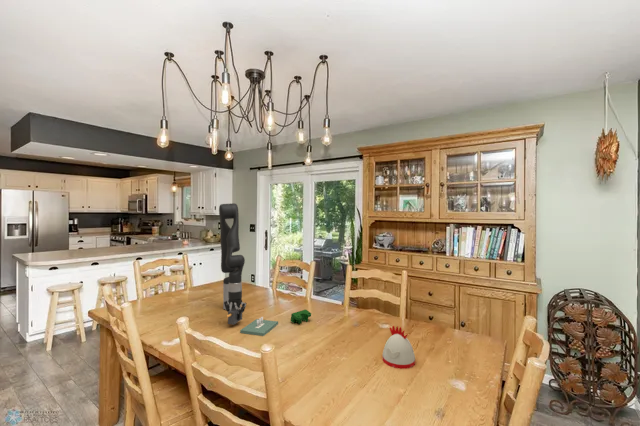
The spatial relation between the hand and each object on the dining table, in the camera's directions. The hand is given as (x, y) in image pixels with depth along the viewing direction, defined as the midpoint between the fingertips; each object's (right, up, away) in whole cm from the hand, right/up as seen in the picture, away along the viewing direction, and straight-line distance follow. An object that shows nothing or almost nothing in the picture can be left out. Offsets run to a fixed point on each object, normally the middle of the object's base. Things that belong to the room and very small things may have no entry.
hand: (235, 319), depth 178 cm
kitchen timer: (+83, -4, -42) cm, 93 cm away
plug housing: (-1, -1, -2) cm, 2 cm away
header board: (+15, -3, -5) cm, 16 cm away
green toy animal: (+38, -4, +5) cm, 38 cm away
